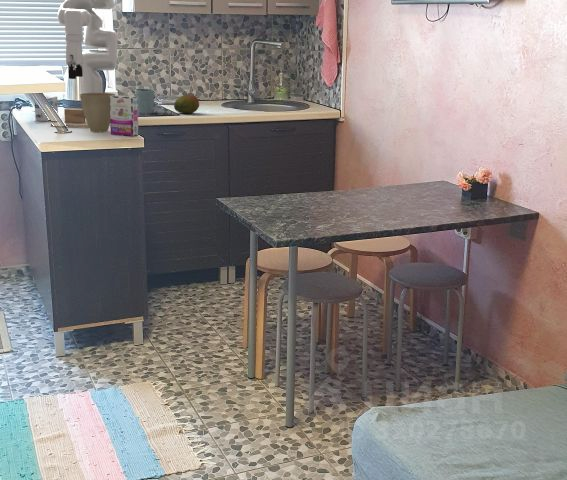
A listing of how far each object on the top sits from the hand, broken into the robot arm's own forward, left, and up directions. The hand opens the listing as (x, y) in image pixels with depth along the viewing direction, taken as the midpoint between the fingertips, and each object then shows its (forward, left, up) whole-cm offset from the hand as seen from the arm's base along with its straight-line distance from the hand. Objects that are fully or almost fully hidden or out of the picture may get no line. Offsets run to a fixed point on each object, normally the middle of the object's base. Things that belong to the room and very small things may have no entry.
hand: (75, 77), depth 363 cm
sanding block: (+3, 0, -20) cm, 20 cm away
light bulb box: (-11, -18, -21) cm, 30 cm away
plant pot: (+18, +15, -21) cm, 32 cm away
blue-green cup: (-54, +19, -21) cm, 61 cm away
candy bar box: (+26, +28, -21) cm, 44 cm away
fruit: (-58, +40, -21) cm, 74 cm away
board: (+4, 0, -21) cm, 21 cm away
